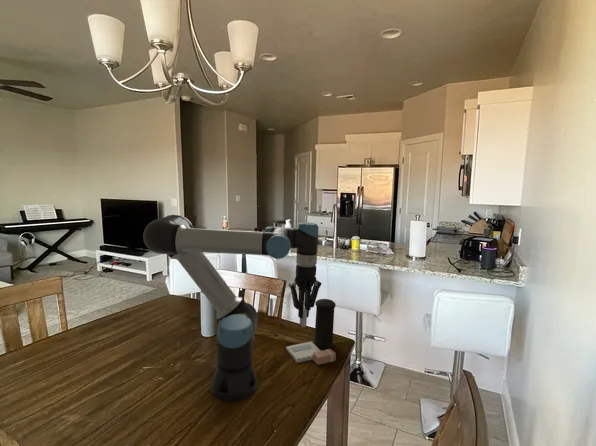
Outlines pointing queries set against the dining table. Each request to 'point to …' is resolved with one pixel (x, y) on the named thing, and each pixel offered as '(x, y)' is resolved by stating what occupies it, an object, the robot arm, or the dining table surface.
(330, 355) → the pink banded block
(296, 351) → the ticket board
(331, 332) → the container
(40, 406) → the dining table surface
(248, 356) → the robot arm
